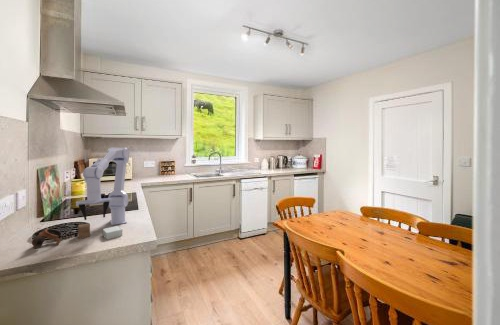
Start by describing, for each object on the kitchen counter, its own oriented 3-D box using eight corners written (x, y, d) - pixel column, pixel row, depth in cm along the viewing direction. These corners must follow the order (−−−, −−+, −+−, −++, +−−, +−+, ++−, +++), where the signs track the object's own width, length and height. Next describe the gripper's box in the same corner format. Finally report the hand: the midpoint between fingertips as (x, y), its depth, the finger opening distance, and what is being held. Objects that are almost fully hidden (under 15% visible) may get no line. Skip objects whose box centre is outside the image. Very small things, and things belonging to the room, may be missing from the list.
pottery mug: (41, 242, 111) (51, 226, 113) (59, 251, 111) (69, 235, 113) (19, 247, 99) (31, 229, 101) (39, 257, 100) (51, 239, 101)
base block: (103, 235, 120) (102, 228, 120) (118, 232, 125) (118, 225, 125) (106, 239, 115) (106, 232, 115) (122, 236, 120) (122, 229, 120)
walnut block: (79, 235, 119) (78, 224, 119) (90, 233, 122) (89, 223, 121) (78, 238, 115) (78, 227, 115) (89, 236, 118) (89, 226, 117)
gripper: (75, 194, 108) (76, 223, 109) (111, 191, 116) (112, 217, 118) (75, 191, 114) (77, 218, 115) (110, 188, 122) (111, 214, 123)
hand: (95, 218), depth 117 cm, fingers open, 7 cm apart
